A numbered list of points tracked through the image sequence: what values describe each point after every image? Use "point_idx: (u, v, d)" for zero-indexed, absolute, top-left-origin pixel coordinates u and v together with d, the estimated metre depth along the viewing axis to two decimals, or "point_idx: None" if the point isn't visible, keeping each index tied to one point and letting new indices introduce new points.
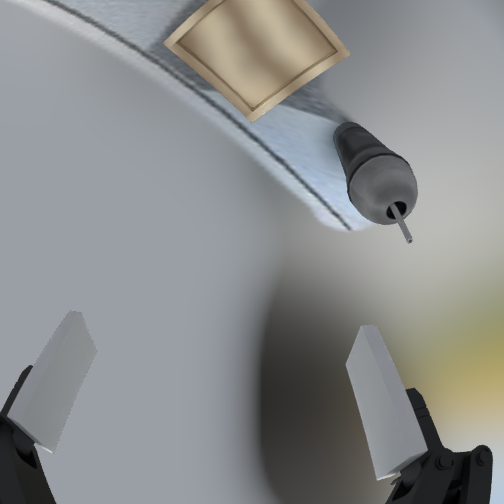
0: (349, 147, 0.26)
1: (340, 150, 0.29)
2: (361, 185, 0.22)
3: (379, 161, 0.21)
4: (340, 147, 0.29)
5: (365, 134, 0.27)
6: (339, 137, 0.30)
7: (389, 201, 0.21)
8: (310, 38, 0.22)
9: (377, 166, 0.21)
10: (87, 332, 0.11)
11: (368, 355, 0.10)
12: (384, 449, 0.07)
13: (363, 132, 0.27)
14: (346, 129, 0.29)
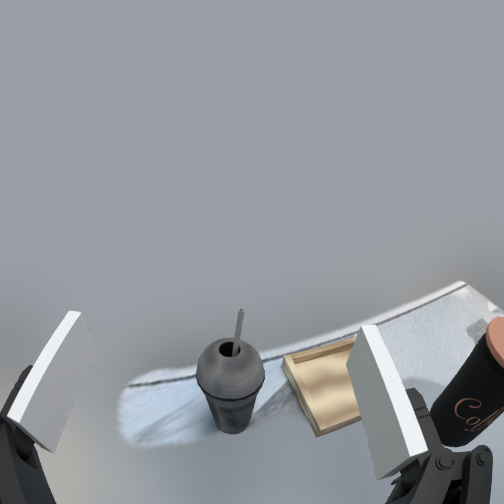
0: None
1: None
2: None
3: (263, 369, 0.27)
4: None
5: (252, 410, 0.29)
6: None
7: (242, 346, 0.26)
8: (335, 412, 0.32)
9: (262, 363, 0.27)
10: (87, 332, 0.11)
11: (368, 355, 0.10)
12: (384, 449, 0.07)
13: (251, 412, 0.29)
14: None
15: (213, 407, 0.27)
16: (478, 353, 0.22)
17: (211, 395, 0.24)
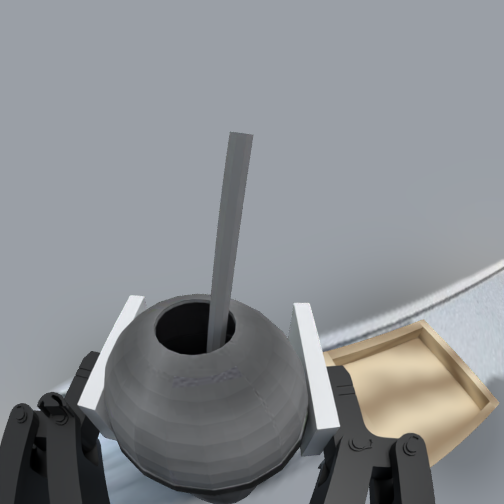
0: None
1: None
2: None
3: None
4: None
5: None
6: None
7: (242, 316, 0.07)
8: None
9: (304, 374, 0.08)
10: None
11: (296, 330, 0.12)
12: None
13: None
14: None
15: None
16: None
17: (142, 470, 0.06)
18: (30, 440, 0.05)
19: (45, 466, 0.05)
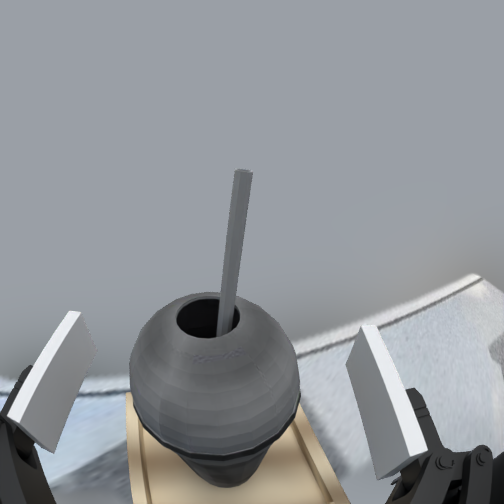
0: None
1: None
2: None
3: None
4: None
5: None
6: None
7: (245, 309, 0.09)
8: None
9: None
10: (87, 332, 0.11)
11: (368, 355, 0.10)
12: (384, 449, 0.07)
13: None
14: None
15: (179, 455, 0.10)
16: None
17: (162, 441, 0.08)
18: None
19: None
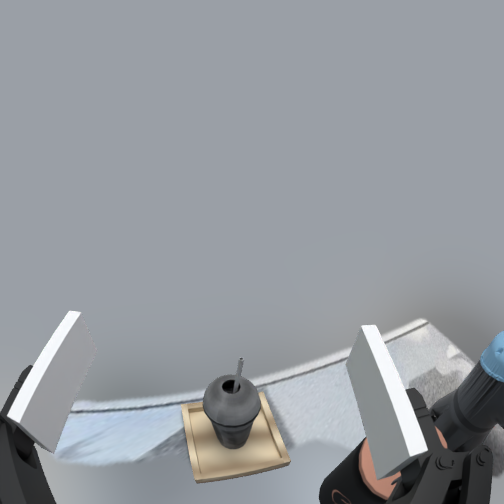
0: None
1: None
2: None
3: (259, 400, 0.30)
4: None
5: (250, 430, 0.33)
6: None
7: (242, 383, 0.29)
8: (217, 465, 0.31)
9: (259, 396, 0.30)
10: (87, 332, 0.11)
11: (368, 355, 0.10)
12: (384, 449, 0.07)
13: (249, 432, 0.33)
14: None
15: (217, 429, 0.30)
16: (353, 456, 0.21)
17: (216, 422, 0.28)
18: None
19: None
